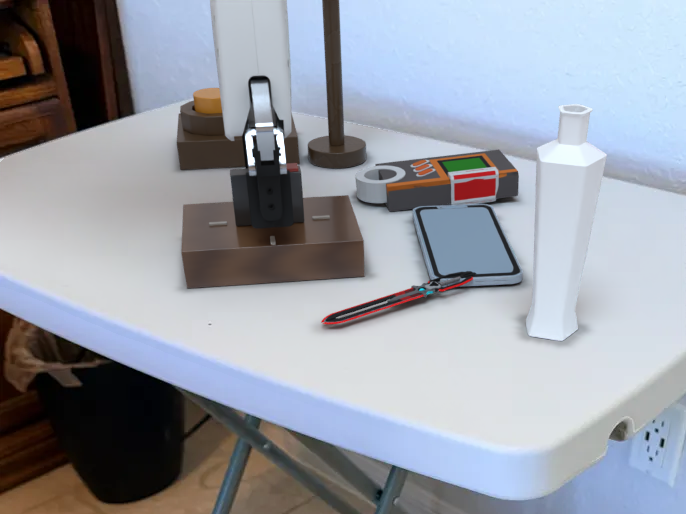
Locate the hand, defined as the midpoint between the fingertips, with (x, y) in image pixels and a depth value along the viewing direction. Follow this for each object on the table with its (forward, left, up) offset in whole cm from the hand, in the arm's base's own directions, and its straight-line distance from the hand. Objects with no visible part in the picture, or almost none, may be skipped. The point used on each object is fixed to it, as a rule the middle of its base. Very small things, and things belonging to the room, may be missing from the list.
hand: (269, 203), depth 74 cm
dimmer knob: (0, 0, -1) cm, 1 cm away
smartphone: (+16, -1, -4) cm, 17 cm away
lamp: (+8, +24, -4) cm, 26 cm away
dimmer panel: (0, 0, -4) cm, 4 cm away
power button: (-4, +28, 0) cm, 28 cm away
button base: (-2, +28, -4) cm, 28 cm away
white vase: (+19, -16, -5) cm, 25 cm away
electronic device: (+16, +12, -5) cm, 21 cm away
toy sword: (+9, -10, -4) cm, 15 cm away
